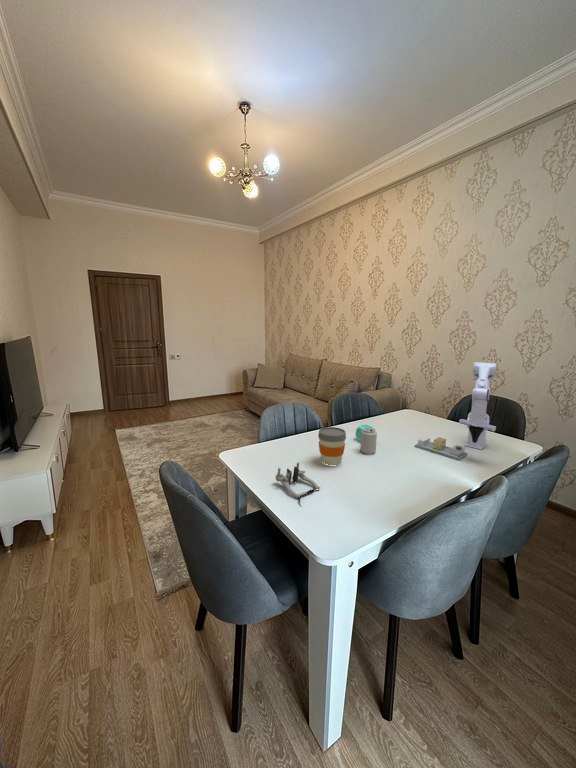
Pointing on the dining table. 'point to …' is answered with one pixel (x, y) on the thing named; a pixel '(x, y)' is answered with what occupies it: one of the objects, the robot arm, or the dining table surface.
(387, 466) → the dining table surface
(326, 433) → the reusable coffee cup
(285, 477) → the bike brake
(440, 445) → the wooden block
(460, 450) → the free jaw
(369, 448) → the can
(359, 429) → the teal ball
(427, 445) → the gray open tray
